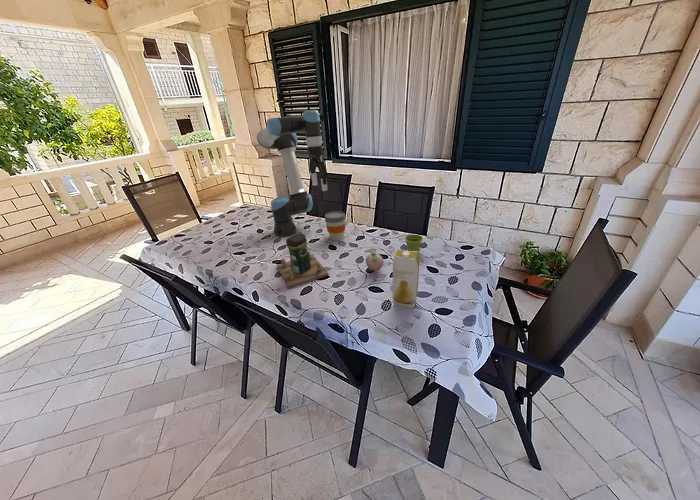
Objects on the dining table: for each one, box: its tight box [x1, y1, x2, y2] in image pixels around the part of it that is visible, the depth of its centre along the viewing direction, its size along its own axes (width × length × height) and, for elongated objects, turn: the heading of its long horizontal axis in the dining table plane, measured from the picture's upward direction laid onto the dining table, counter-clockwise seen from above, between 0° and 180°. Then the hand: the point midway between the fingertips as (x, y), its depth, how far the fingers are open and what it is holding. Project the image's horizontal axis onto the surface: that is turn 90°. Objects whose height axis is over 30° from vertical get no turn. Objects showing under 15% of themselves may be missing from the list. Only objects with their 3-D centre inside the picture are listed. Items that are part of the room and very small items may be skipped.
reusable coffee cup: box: [324, 210, 347, 241], centre depth 166 cm, size 13×13×15 cm
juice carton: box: [392, 249, 421, 309], centre depth 105 cm, size 9×8×24 cm
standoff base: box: [276, 250, 330, 289], centre depth 135 cm, size 22×20×6 cm
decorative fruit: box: [365, 251, 385, 272], centre depth 130 cm, size 9×8×10 cm
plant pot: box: [404, 233, 424, 254], centre depth 144 cm, size 9×9×9 cm
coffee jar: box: [285, 232, 311, 273], centre depth 131 cm, size 10×8×19 cm
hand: (319, 187), depth 144 cm, fingers open, 13 cm apart
